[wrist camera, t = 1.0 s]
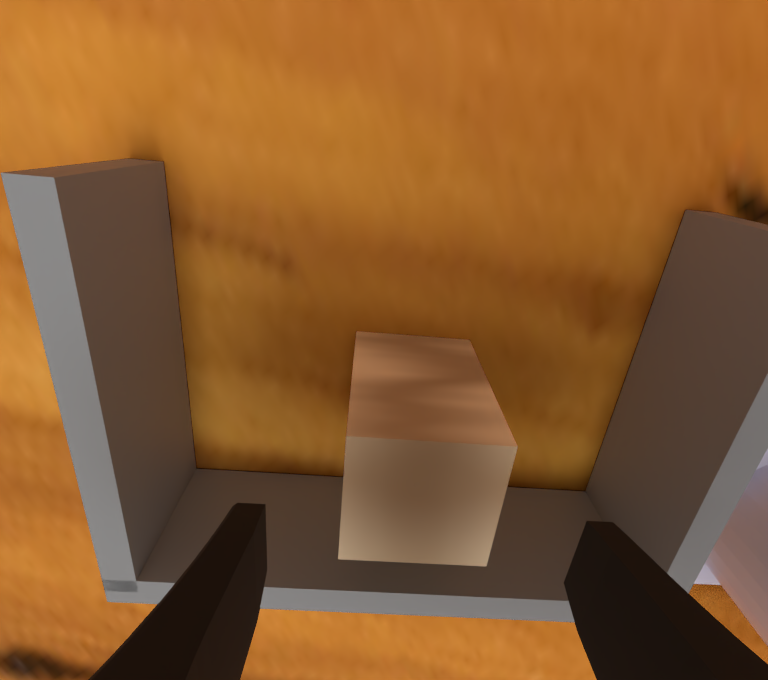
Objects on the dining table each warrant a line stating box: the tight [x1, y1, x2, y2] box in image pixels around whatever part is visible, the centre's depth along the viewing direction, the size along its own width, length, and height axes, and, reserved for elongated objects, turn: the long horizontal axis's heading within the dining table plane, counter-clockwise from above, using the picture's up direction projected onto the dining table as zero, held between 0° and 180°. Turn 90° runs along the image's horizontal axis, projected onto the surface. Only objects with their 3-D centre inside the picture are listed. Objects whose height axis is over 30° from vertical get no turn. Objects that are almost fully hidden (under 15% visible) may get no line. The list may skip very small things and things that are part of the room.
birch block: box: [338, 331, 518, 566], centre depth 14 cm, size 4×4×6 cm
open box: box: [1, 159, 768, 622], centre depth 14 cm, size 18×12×5 cm
